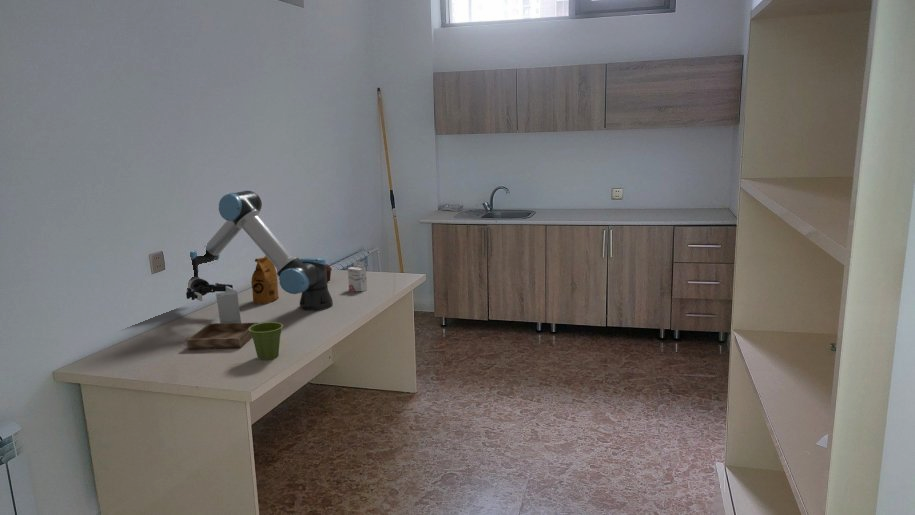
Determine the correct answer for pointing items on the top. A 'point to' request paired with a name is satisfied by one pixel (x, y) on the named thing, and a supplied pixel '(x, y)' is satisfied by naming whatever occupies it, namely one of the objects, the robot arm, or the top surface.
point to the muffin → (328, 272)
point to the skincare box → (228, 307)
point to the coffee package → (264, 281)
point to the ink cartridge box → (357, 277)
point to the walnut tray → (221, 336)
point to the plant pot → (266, 339)
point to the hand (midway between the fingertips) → (217, 294)
